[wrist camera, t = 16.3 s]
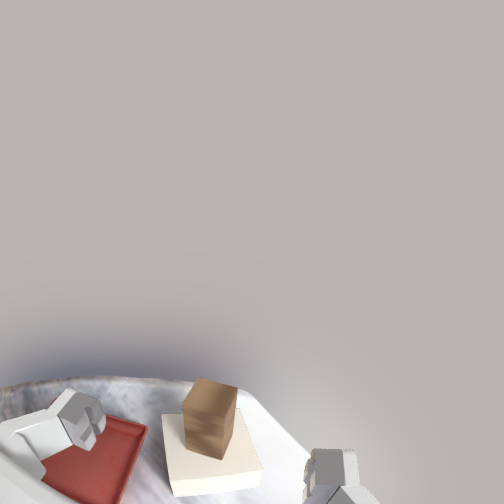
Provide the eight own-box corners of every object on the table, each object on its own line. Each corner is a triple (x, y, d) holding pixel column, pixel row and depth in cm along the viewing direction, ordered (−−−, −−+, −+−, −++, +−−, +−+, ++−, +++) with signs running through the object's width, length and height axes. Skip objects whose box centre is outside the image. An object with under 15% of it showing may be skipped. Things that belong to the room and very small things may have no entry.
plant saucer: (16, 476, 22) (6, 465, 21) (61, 407, 40) (56, 394, 39) (119, 526, 22) (113, 519, 21) (152, 437, 39) (149, 425, 38)
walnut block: (186, 449, 33) (182, 403, 30) (199, 424, 37) (198, 377, 34) (221, 460, 32) (225, 416, 29) (232, 434, 36) (237, 387, 33)
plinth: (174, 497, 29) (169, 480, 27) (165, 436, 40) (161, 414, 38) (258, 487, 33) (263, 469, 31) (237, 430, 44) (239, 408, 42)
